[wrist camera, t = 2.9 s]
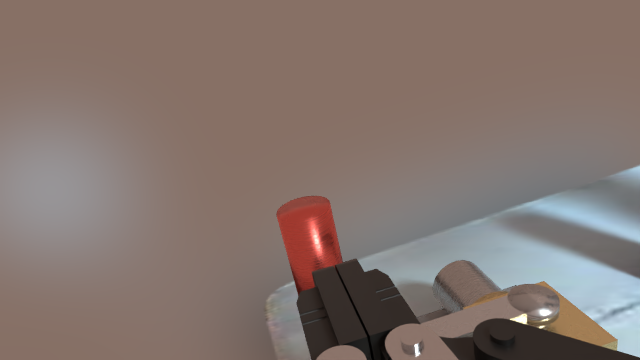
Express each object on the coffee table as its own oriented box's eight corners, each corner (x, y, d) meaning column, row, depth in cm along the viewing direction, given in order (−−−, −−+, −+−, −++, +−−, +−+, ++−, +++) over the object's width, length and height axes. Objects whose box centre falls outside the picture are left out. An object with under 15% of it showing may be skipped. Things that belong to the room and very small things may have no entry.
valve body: (427, 318, 38) (418, 247, 35) (490, 298, 39) (485, 226, 36) (623, 598, 19) (634, 494, 17) (736, 549, 20) (764, 441, 17)
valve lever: (538, 289, 28) (535, 131, 24) (570, 316, 25) (573, 144, 21) (316, 362, 26) (273, 204, 22) (327, 399, 23) (280, 228, 19)
